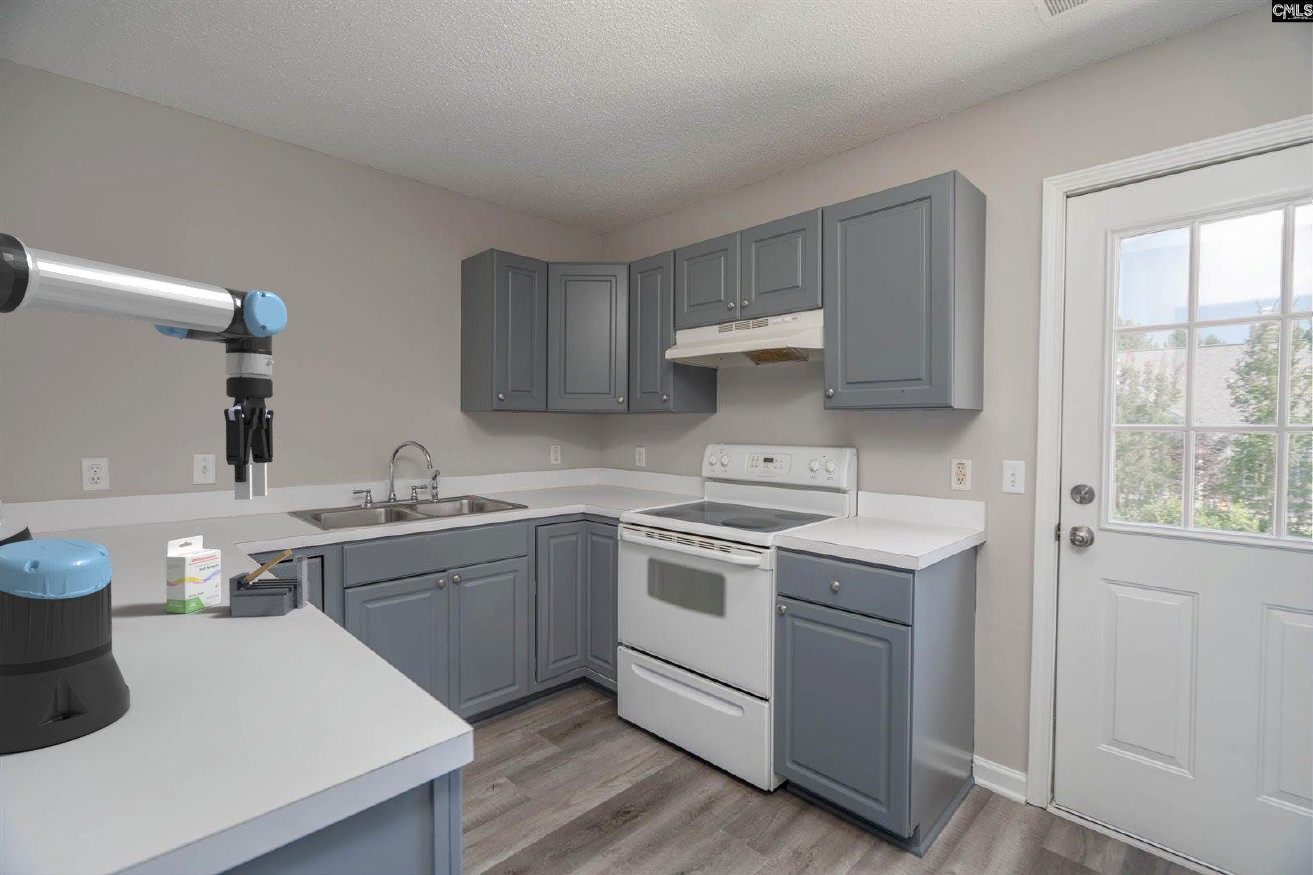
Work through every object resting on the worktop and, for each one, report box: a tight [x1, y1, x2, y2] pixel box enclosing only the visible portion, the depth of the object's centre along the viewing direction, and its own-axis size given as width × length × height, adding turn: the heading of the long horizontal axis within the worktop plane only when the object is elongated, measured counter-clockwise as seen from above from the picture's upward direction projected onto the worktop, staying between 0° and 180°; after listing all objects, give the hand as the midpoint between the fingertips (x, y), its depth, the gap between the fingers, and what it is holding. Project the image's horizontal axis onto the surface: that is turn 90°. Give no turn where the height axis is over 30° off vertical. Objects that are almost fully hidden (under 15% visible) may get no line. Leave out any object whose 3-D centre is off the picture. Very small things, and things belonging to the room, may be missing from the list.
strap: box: [239, 548, 293, 585], centre depth 132 cm, size 4×11×1 cm
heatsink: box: [228, 554, 311, 618], centre depth 132 cm, size 12×14×11 cm
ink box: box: [165, 535, 222, 614], centre depth 132 cm, size 9×5×15 cm, turn 168°
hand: (251, 497), depth 121 cm, fingers open, 5 cm apart
